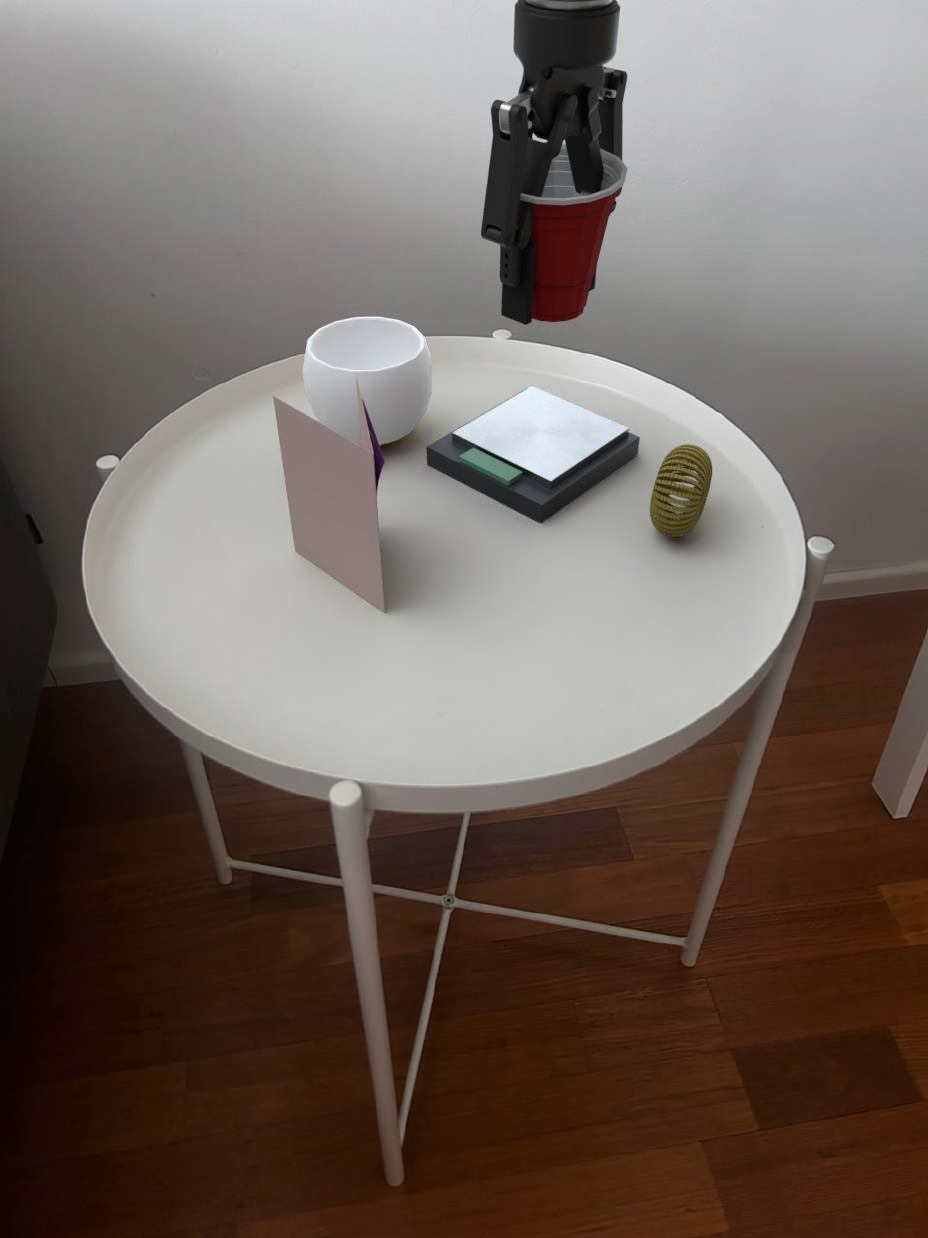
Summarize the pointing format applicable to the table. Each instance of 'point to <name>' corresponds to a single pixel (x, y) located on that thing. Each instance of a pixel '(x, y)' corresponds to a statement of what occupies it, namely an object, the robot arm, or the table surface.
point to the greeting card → (334, 498)
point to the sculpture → (680, 490)
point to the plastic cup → (569, 236)
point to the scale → (534, 452)
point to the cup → (368, 376)
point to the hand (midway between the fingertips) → (549, 301)
